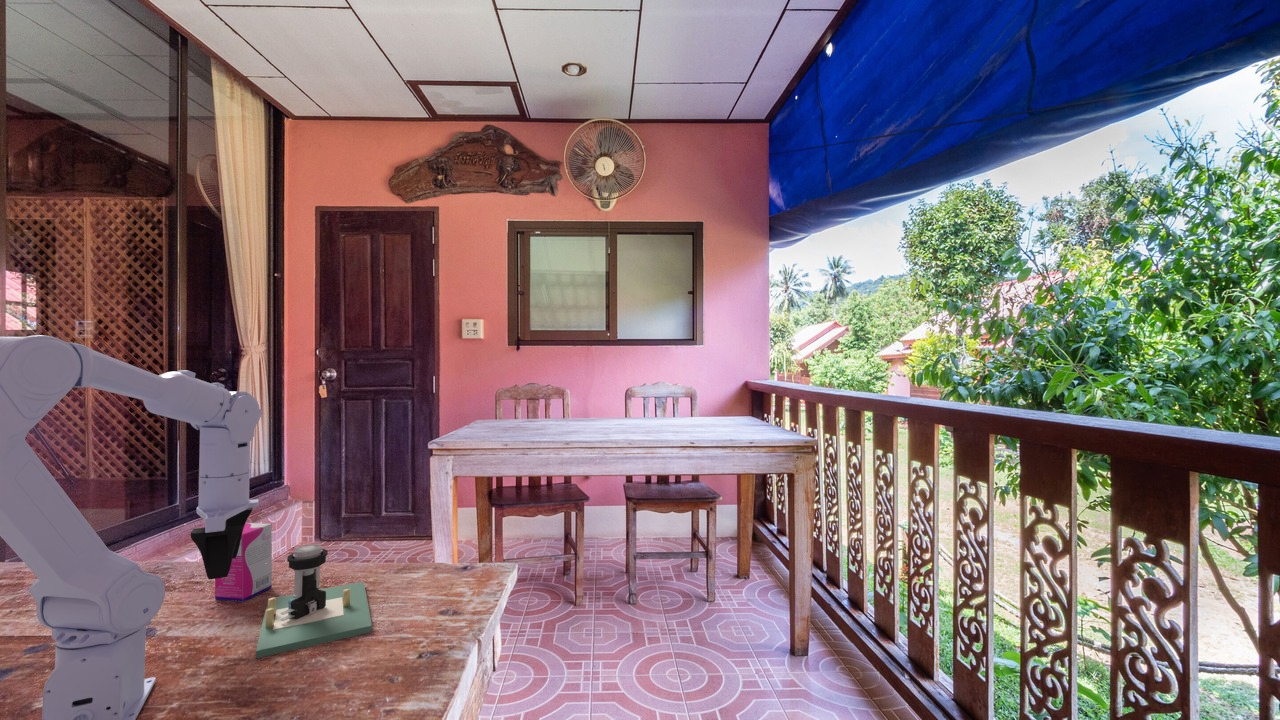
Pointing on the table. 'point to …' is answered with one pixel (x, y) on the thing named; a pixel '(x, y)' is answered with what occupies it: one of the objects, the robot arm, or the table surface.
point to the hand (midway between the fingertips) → (223, 567)
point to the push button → (306, 581)
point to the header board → (315, 621)
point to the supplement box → (249, 566)
